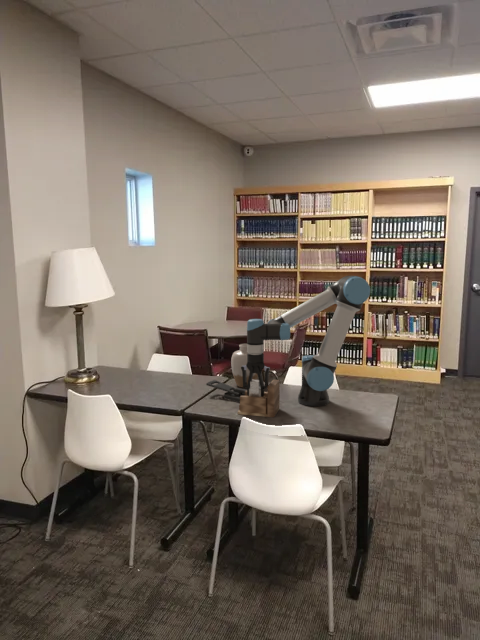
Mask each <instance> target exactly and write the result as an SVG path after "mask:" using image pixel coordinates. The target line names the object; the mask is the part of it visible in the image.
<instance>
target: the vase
mask: <svg viewBox="0 0 480 640" xmlns="http://www.w3.org/2000/svg"><path fill="white" fill-rule="evenodd" d="M238 346H239V350H235V351H234V352H232V355H231V361H230V363H231V364H230V365H231V372H232V376H233V379H234V381H235V383H236V386H237V388H242V389H246V388H245V387H243V375H242V369H241V367H242V366H243V365H244V366H245V365H246V364H247V354H248V352H247V343H240V344H239V345H238ZM249 373H250V371H249V369H248V368H247V369H246V376H247V384H248V379H249ZM252 379H253V380H258V375H257V374H256V373H253V378H252Z"/></svg>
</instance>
